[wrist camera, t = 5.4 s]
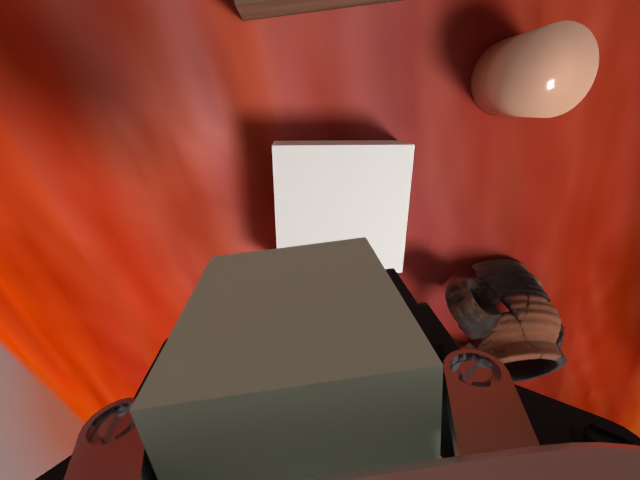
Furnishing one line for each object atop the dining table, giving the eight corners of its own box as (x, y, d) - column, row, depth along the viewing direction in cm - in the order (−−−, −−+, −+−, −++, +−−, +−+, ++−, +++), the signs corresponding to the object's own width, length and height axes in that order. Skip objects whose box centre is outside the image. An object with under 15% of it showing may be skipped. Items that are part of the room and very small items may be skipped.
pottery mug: (554, 273, 31) (605, 364, 26) (465, 313, 37) (492, 394, 32) (477, 224, 25) (523, 329, 20) (386, 281, 31) (404, 374, 26)
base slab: (274, 140, 25) (271, 145, 21) (396, 139, 25) (414, 144, 22) (279, 254, 28) (277, 277, 24) (387, 251, 29) (402, 272, 25)
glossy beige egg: (471, 43, 23) (518, 26, 19) (542, 33, 23) (605, 15, 19) (469, 120, 25) (511, 123, 20) (535, 111, 25) (591, 111, 21)
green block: (211, 256, 11) (128, 411, 5) (365, 237, 11) (443, 365, 6) (240, 378, 13) (202, 590, 7) (372, 359, 13) (437, 550, 7)
